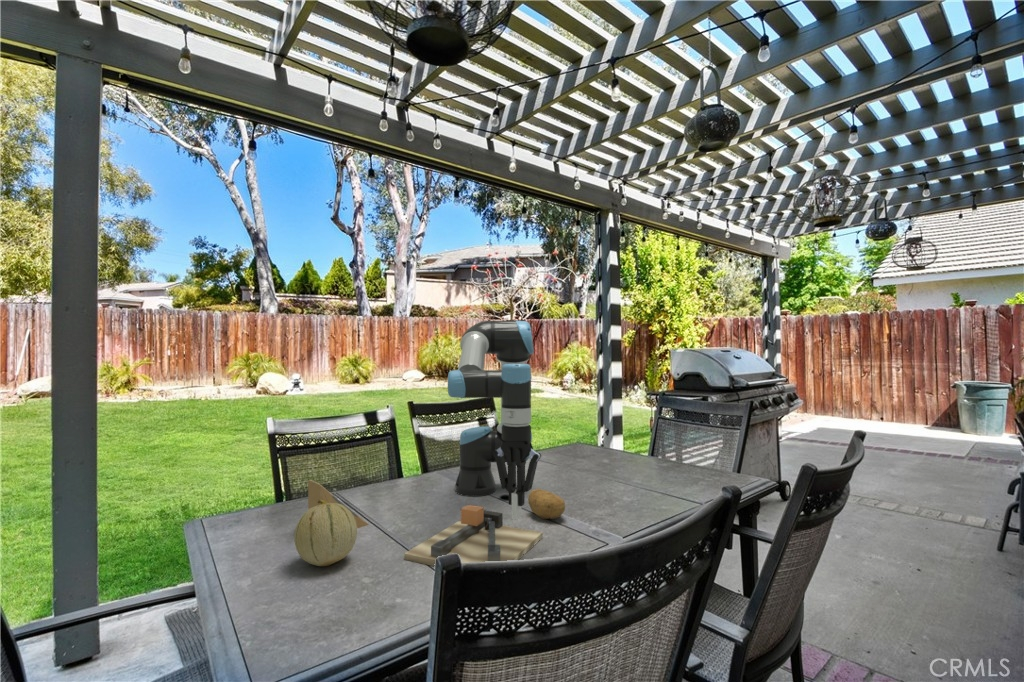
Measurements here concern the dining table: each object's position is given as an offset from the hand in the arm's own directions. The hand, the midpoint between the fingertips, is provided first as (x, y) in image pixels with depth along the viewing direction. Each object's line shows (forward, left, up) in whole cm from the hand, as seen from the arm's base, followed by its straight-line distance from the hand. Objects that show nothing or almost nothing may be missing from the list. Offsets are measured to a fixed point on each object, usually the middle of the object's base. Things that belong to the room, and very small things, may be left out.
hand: (516, 518), depth 124 cm
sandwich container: (+3, -56, -11) cm, 57 cm away
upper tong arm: (-2, -8, -9) cm, 12 cm away
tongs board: (-1, -12, -10) cm, 16 cm away
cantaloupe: (+23, -41, -10) cm, 48 cm away
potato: (-31, -4, -10) cm, 33 cm away
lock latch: (-7, -17, -6) cm, 20 cm away
